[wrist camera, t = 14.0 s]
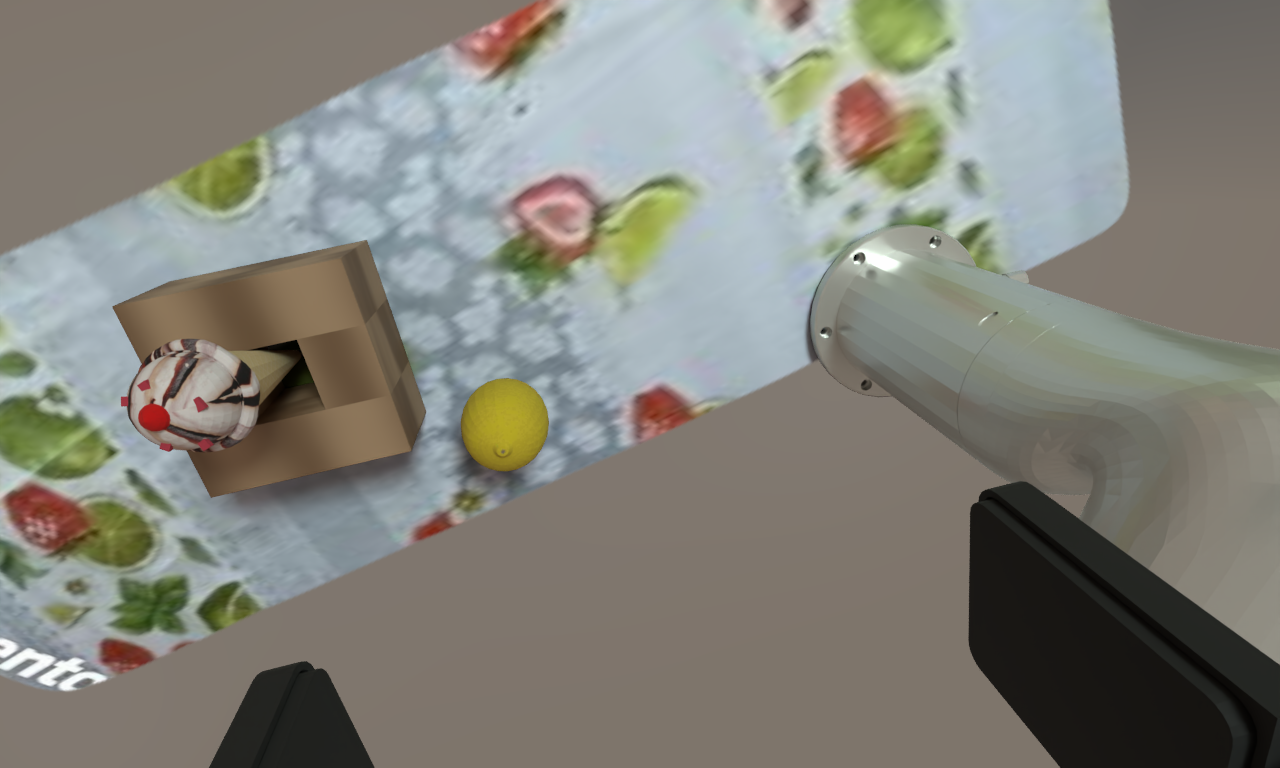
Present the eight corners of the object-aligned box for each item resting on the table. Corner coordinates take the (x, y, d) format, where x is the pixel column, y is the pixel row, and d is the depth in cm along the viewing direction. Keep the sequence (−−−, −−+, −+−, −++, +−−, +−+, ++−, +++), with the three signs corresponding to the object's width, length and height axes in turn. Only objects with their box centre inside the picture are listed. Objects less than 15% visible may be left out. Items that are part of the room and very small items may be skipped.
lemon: (508, 449, 48) (503, 508, 40) (450, 399, 46) (433, 452, 38) (564, 399, 47) (569, 451, 40) (507, 346, 45) (502, 389, 38)
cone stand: (366, 240, 41) (340, 258, 36) (426, 411, 46) (411, 451, 40) (170, 281, 40) (112, 306, 35) (250, 451, 45) (210, 497, 39)
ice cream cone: (243, 336, 43) (45, 402, 28) (312, 288, 42) (146, 330, 27) (301, 407, 44) (141, 505, 29) (369, 361, 43) (239, 439, 29)
